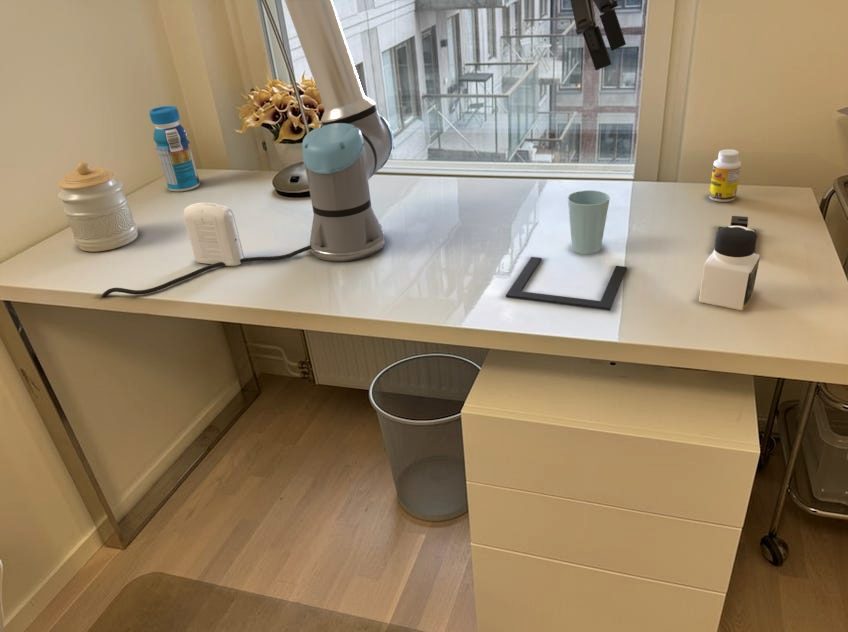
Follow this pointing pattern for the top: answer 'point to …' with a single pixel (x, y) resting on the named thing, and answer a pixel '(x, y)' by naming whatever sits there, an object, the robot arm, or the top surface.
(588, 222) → the cup
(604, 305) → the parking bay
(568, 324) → the top surface
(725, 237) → the medicine bottle
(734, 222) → the build plate
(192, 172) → the beverage bottle
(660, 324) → the top surface
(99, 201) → the jar
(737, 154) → the supplement bottle
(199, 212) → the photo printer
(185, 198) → the top surface
